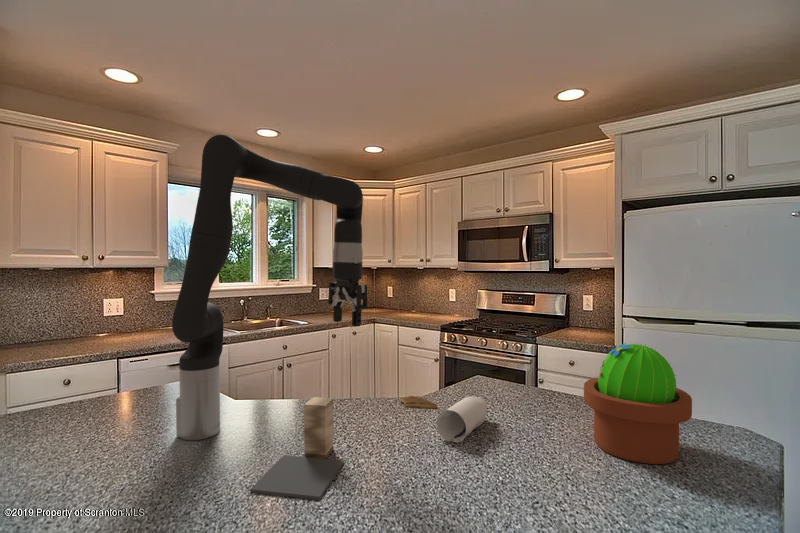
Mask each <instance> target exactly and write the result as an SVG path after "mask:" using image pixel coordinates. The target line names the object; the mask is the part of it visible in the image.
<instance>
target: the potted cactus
mask: <svg viewBox="0 0 800 533" xmlns="http://www.w3.org/2000/svg"><path fill="white" fill-rule="evenodd" d="M656 349H657V348H656V347H655V348H654V349H653V346H652V347H649V345H648V346H647V345H643V343H640V344H639V343H636V344H635V343H632V344H631V343H630V344H627V343H626V342H624V343H622V344H620V345H619V346H617V347H613V348H612V349H611V350H610V351H609V352H607V354H608V355H607V356H606V357H605V359H603V361H602V365H600V371H598V372H597V373H599V374H598V377H593V378H590V379H588V380H586V381H585V382H584V383H583V401H584V403H585V404H586V405H587V406H588V407H589V408H591V409H592V410H593V440H594V442H595V444H596V446H598V449H601V450H602V451H604V452H605V453H607V454H609V455H611V456H614V457H616V458H620V459H622V460H626V461H631V462H635V463H640V464H649V465H666V464H671V463H673V462H676V460H677V459H678V458H679V455H680V424H682V423H685V422H688V421H690V419H691V418H692V416H693V399H692V397H691V395H690V394H689V393H688V392H686V391H684V390H683V389H681V388H679V387H677V384H678V382H677V380H676V374H675V372H674V370H673V369H675V367H672V366H671V363H669V362H668V361H669V360H667V359H666V358H665V356H663V355H662V354H660V353H659V352H658V351H656Z"/></svg>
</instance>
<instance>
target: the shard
mask: <svg viewBox="0 0 800 533" xmlns="http://www.w3.org/2000/svg"><path fill="white" fill-rule="evenodd" d="M418 397H420V398H418ZM399 401H400V402H401V403H403V405H404V407H405V408H410V407H411V408H421V409H422V408H425V409H437V408H438V406H439V404H436V403H434V402H432V401H430V400H428V399H426V398H424V397H422V396H418V395H408V396H405V397H400V398H399Z"/></svg>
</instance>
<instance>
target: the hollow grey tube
mask: <svg viewBox="0 0 800 533" xmlns="http://www.w3.org/2000/svg"><path fill="white" fill-rule="evenodd" d="M487 408H488V402H487V401H486V400H485V399H484V398H482V397H481V396H478V397H477V396H466V397H464V398H462V399H461V400H459V401H457V402H456V403H455V404H452V406H450V407H449V408H447V409H445V410H443V411H441V412H439V413H438V416H437V417H436V421H435V424H436V430H437V431H438V433H439V435H440V436H441V438H442V439H443V440H445V441H446V442H454V443H455V444H456V443H459V442H462V441H463V440H464V439H465V438H466V437H467V436H469V435H470V434H471V433H472V432H473V430H475V429H476V428H478V427H479V426H481V425H482V424H483V423H484V422H485V420H486V419H485V418H486V416H487V414H488V409H487ZM464 430H465V432H464V433H463V434H462V435H461V436H457V435H459V434H461V433H462V432H463V431H464ZM455 436H457V437H455Z"/></svg>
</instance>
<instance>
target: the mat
mask: <svg viewBox="0 0 800 533" xmlns="http://www.w3.org/2000/svg"><path fill="white" fill-rule="evenodd" d="M344 462H345V460H339V459H331V458H326V459H321V458H310V457H305V456H296V455H286V454H285V455H282V456H281V458H279V459H278V460H277V461H276V462H275V464H273V466H271V467H270V468H269V470H268V471H267V472H266V473H265V474H264V475H262V477H261V478H259V479H258V481H257V482H256V483H255V484H253V486H252V487H251V488H250V489H249V491H250V493H252V494H253V493H254V494H264V495H272V496H280V497H289V498H290V497H291V498H298V499H300V498H301V499H307V500H308V499H309V500H317V501H318V500H319V501H320V500H321V499H322V497H323V496H324V494H325V493H326V491H327V490H328V488H329V487H330V485H331V484H332V482H333V481H334V479H335V477H336V476H337V474H338V473H339V471H340V469H342V466H343V465H344Z"/></svg>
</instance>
